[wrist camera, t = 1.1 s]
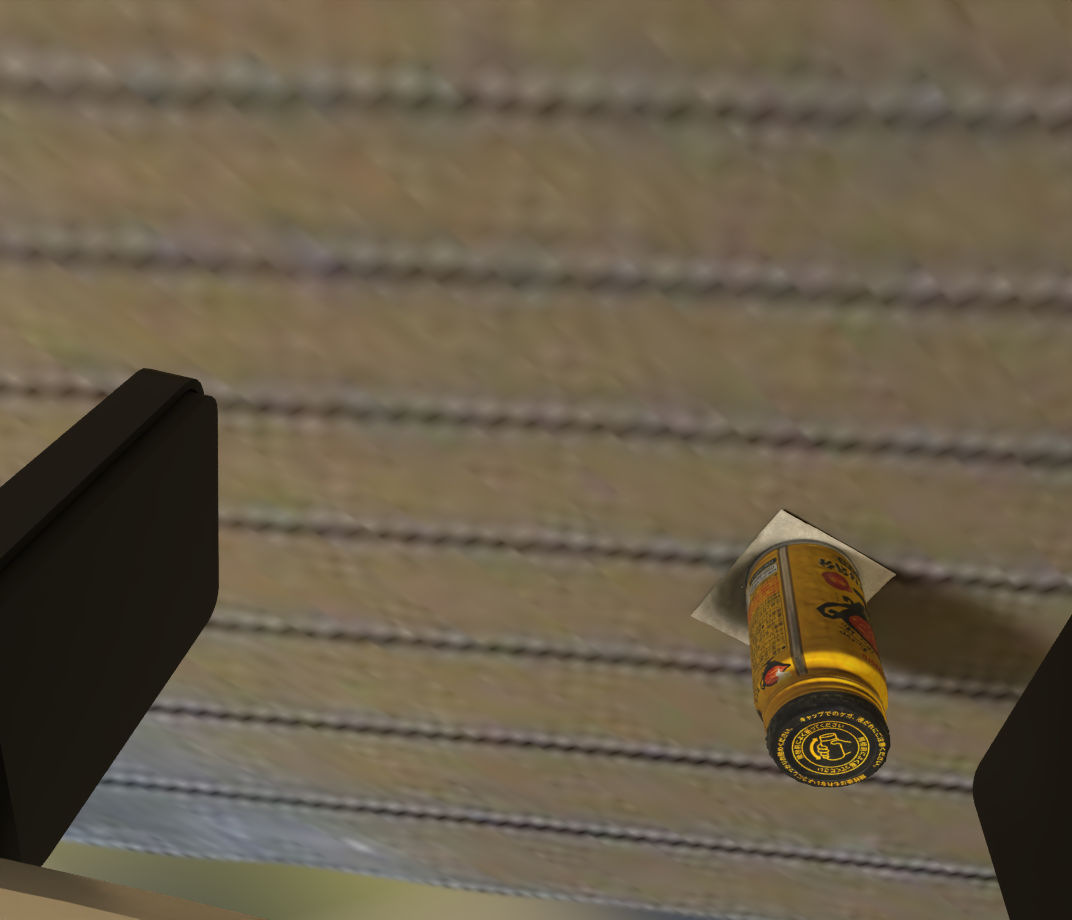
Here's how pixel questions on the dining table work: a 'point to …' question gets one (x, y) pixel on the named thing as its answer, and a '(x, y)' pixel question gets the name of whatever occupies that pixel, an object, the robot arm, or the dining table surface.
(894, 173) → the dining table surface
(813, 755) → the condiment
